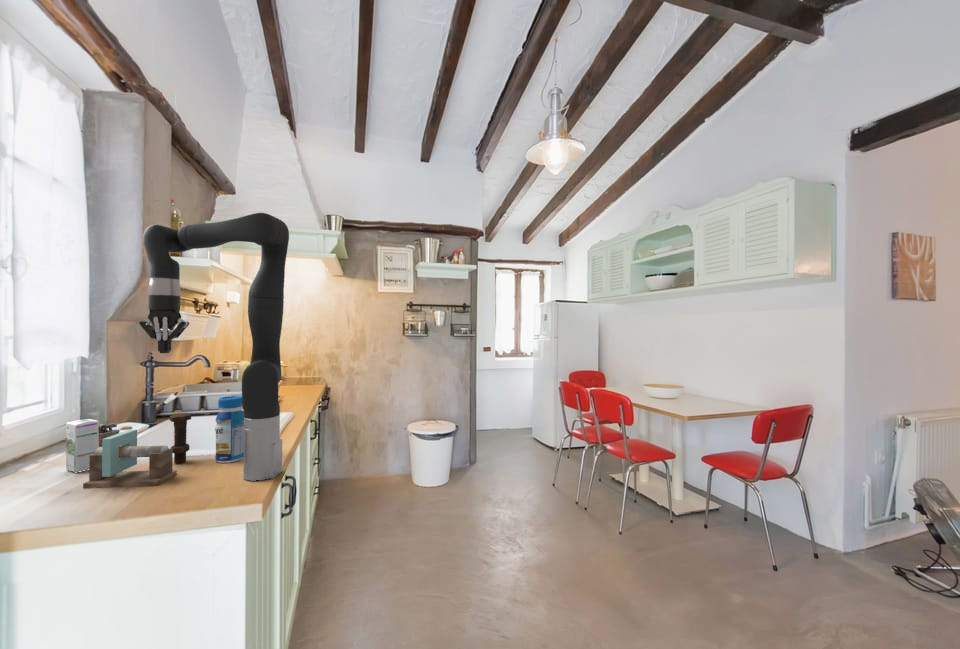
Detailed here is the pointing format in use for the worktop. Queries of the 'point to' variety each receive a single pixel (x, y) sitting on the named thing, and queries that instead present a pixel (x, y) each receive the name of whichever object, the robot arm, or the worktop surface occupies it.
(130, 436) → the collar
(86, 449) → the syrup box
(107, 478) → the pipe stand
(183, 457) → the bolt
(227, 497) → the worktop surface
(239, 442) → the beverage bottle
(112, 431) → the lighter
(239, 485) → the worktop surface
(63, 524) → the worktop surface
